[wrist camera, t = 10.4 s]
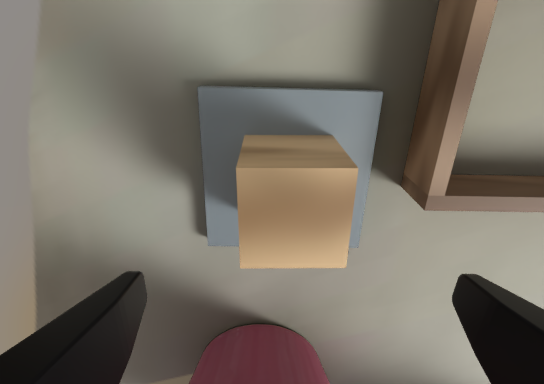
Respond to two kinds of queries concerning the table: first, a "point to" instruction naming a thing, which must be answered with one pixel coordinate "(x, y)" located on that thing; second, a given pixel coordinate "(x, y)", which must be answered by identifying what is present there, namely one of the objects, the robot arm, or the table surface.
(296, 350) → the plant pot
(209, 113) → the slate pad
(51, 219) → the table surface
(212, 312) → the table surface
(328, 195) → the beech block
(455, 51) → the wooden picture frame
